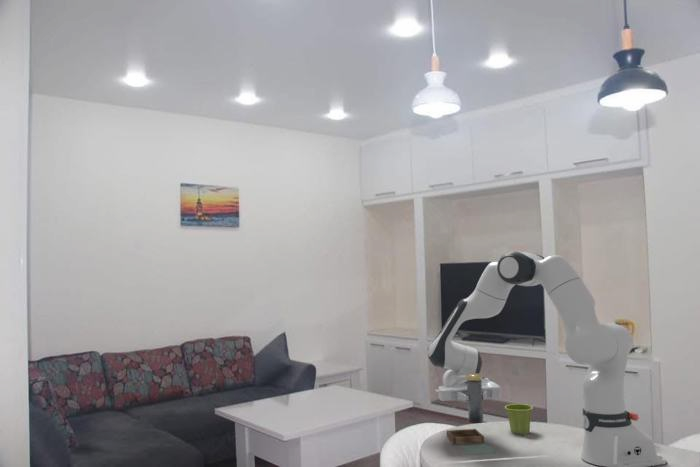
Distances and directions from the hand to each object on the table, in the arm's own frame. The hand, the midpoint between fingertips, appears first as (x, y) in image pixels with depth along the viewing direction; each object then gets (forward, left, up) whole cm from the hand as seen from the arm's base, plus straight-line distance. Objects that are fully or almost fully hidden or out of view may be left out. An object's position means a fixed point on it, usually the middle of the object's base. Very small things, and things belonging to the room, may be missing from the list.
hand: (475, 397), depth 181 cm
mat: (0, -1, -17) cm, 17 cm away
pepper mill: (0, -1, -7) cm, 8 cm away
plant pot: (-20, -18, -17) cm, 32 cm away
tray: (+1, -12, -17) cm, 20 cm away
